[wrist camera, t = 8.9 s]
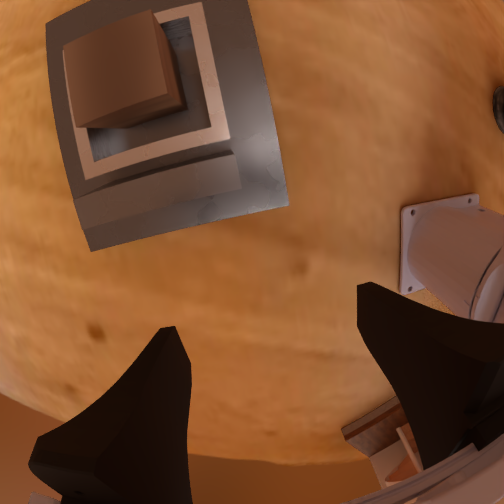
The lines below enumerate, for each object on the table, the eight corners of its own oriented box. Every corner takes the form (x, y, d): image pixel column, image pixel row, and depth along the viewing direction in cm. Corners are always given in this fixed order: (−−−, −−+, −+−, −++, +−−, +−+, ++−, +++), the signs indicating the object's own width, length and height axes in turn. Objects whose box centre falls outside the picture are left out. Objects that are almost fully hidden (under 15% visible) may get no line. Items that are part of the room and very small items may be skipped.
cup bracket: (235, -31, 13) (241, -79, 7) (285, 201, 20) (311, 229, 14) (53, 27, 13) (8, 5, 7) (96, 245, 20) (59, 285, 14)
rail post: (175, 52, 14) (150, 9, 8) (188, 109, 16) (167, 93, 9) (115, 72, 14) (63, 46, 8) (126, 128, 16) (75, 127, 9)
